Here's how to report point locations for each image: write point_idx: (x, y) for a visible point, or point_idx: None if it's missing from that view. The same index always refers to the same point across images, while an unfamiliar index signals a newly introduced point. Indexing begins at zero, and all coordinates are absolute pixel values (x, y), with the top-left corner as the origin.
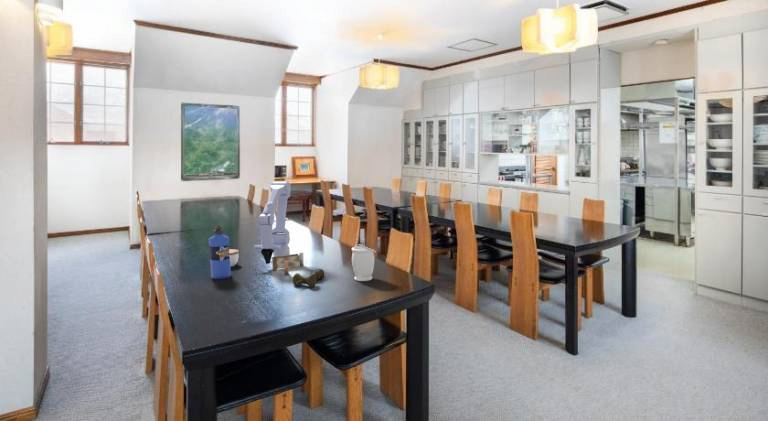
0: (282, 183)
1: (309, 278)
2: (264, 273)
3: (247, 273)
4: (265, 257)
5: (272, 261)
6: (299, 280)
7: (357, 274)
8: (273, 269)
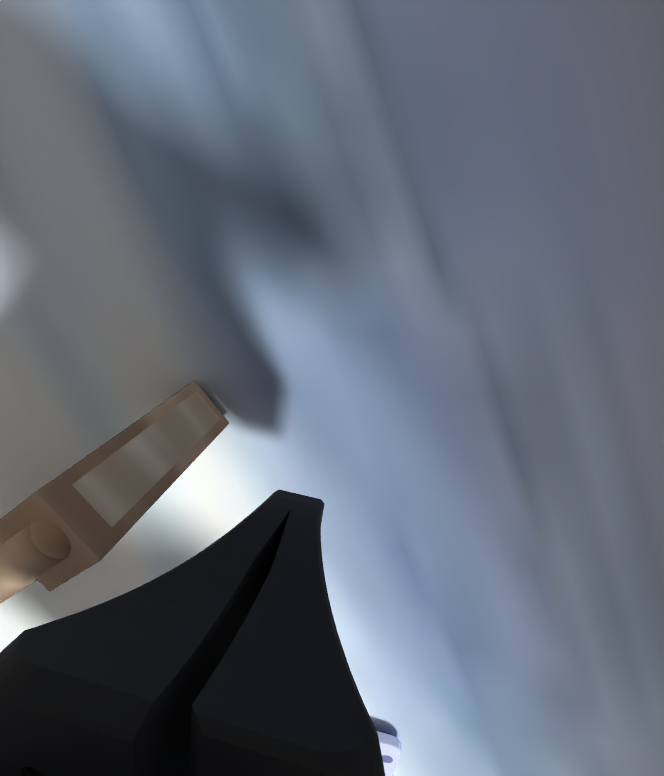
0: None
1: None
2: (266, 192)
3: (607, 157)
4: (276, 575)
5: (148, 481)
6: None
7: None
8: (193, 387)
